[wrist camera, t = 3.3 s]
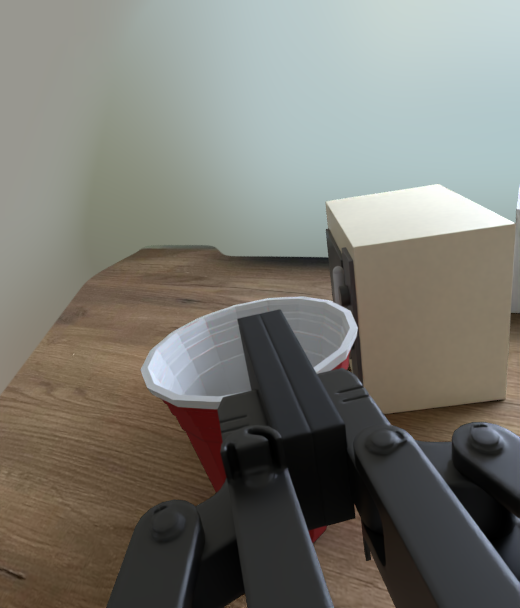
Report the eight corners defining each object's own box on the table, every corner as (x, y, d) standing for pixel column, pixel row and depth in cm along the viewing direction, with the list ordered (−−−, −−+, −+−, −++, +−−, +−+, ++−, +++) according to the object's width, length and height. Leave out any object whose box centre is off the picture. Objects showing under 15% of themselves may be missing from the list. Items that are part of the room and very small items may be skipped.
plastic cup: (256, 432, 36) (227, 281, 31) (400, 478, 30) (391, 299, 25) (150, 546, 28) (89, 367, 23) (317, 640, 22) (281, 423, 17)
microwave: (352, 418, 36) (336, 249, 30) (328, 331, 48) (314, 202, 43) (506, 399, 35) (516, 223, 30) (439, 316, 48) (438, 183, 43)
